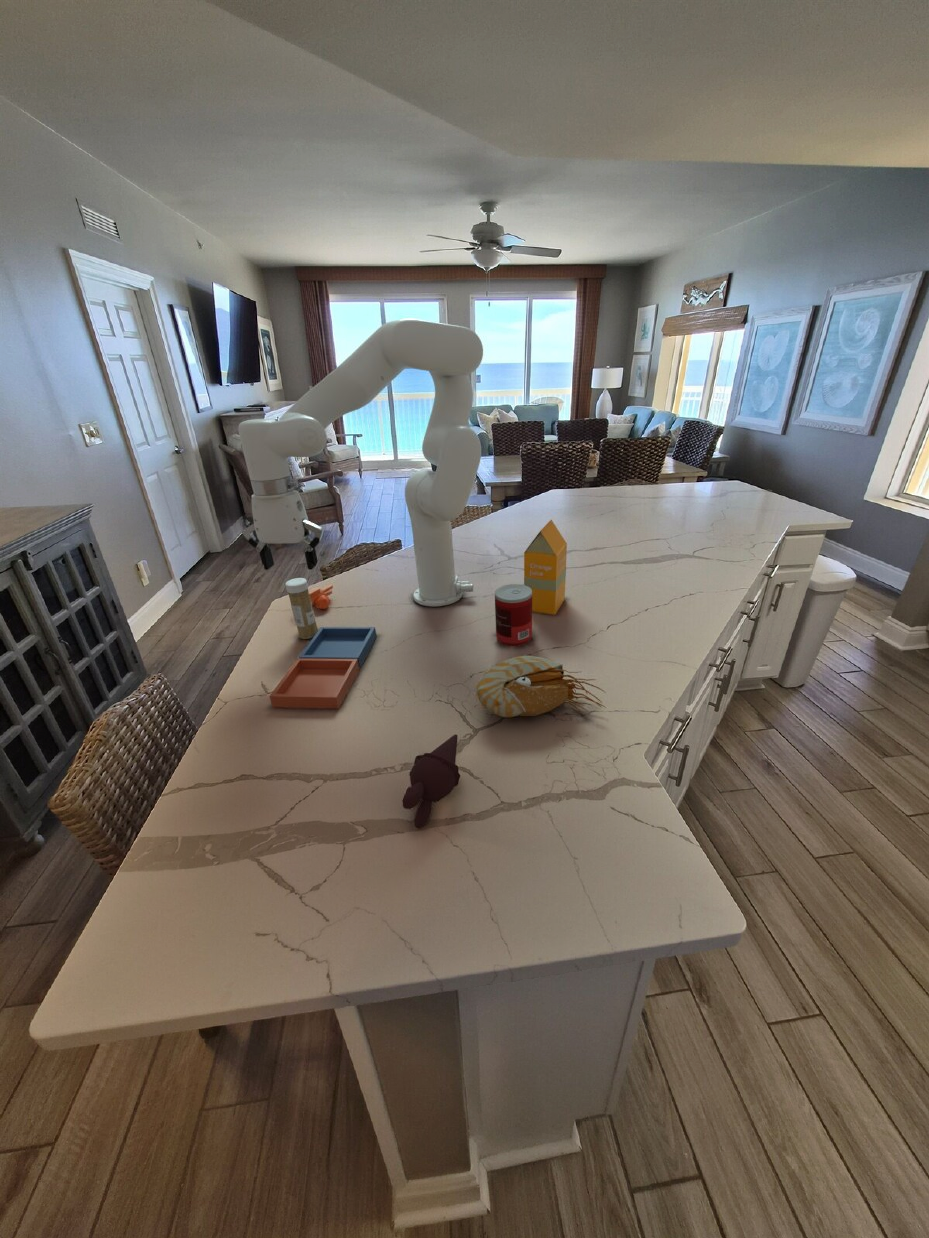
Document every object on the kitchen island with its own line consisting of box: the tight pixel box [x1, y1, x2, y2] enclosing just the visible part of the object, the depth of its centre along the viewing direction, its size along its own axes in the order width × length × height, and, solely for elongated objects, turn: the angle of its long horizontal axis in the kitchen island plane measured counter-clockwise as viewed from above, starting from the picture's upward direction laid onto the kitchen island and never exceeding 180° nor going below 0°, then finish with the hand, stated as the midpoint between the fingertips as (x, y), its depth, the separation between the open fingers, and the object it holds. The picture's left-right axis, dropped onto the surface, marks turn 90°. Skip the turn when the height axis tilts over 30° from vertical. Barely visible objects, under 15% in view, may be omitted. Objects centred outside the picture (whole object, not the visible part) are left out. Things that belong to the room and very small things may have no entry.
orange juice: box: [523, 519, 568, 616], centre depth 115 cm, size 8×9×20 cm
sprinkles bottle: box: [285, 577, 319, 640], centre depth 110 cm, size 5×5×14 cm
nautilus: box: [475, 655, 607, 718], centre depth 83 cm, size 8×22×15 cm
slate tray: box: [298, 626, 378, 669], centre depth 106 cm, size 13×13×2 cm
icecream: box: [401, 733, 461, 830], centre depth 69 cm, size 7×7×15 cm
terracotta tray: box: [268, 657, 360, 710], centre depth 94 cm, size 13×13×2 cm
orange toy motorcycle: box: [308, 583, 334, 610], centre depth 125 cm, size 5×8×12 cm
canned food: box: [494, 583, 533, 647], centre depth 104 cm, size 8×8×11 cm
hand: (291, 567), depth 106 cm, fingers open, 9 cm apart
